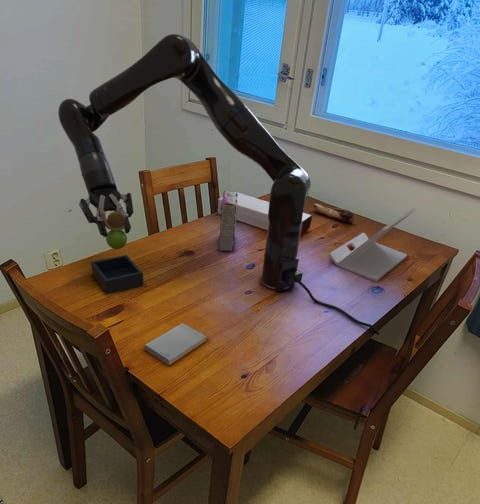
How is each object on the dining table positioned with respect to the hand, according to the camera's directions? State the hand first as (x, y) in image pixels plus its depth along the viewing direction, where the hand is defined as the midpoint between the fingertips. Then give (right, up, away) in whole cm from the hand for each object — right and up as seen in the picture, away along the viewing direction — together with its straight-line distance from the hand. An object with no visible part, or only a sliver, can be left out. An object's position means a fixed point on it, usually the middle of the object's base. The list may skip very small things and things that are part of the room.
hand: (116, 233), depth 120 cm
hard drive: (+17, -29, -12) cm, 36 cm away
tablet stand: (+76, -2, +35) cm, 83 cm away
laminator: (+40, +14, +52) cm, 67 cm away
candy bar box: (+28, +3, +34) cm, 44 cm away
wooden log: (+70, +19, +64) cm, 97 cm away
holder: (-2, -11, +10) cm, 15 cm away
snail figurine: (-2, -3, +4) cm, 5 cm away
